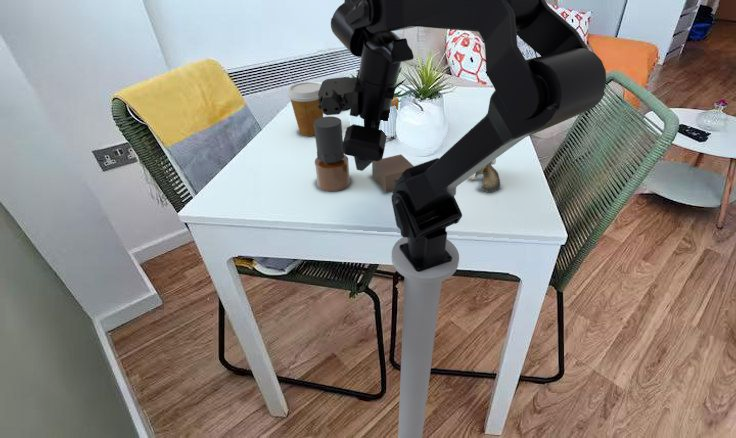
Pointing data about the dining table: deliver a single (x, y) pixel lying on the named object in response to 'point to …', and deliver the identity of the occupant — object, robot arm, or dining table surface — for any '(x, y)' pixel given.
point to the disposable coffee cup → (305, 106)
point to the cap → (329, 139)
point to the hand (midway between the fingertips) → (363, 151)
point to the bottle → (332, 174)
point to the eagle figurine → (488, 177)
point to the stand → (389, 171)
